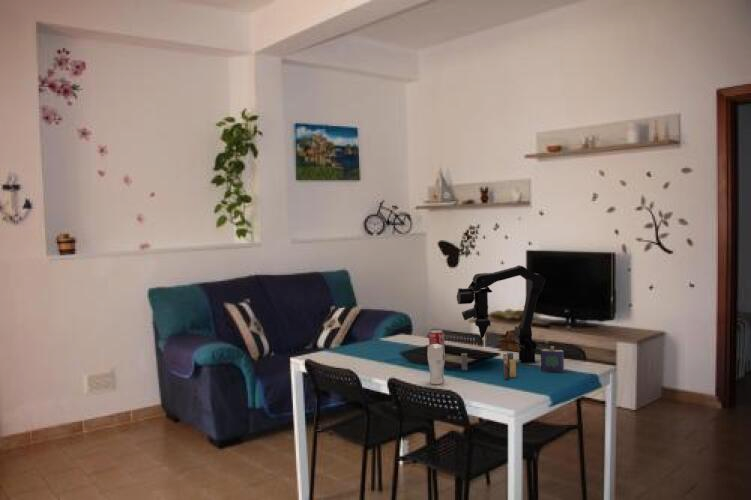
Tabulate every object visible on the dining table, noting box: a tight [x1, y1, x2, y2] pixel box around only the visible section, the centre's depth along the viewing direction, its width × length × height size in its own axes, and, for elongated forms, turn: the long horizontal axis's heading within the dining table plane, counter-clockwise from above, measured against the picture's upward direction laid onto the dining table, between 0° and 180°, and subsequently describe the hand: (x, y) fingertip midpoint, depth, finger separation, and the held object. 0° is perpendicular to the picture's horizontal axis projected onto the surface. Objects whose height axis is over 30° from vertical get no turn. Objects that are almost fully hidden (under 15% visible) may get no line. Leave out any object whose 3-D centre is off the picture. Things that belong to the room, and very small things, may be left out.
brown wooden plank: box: [502, 353, 510, 380], centre depth 260 cm, size 16×2×6 cm, turn 170°
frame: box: [460, 352, 517, 378], centre depth 262 cm, size 22×13×7 cm, turn 84°
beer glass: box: [426, 344, 446, 386], centre depth 252 cm, size 7×7×15 cm
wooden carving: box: [497, 329, 521, 352], centre depth 296 cm, size 16×5×10 cm, turn 76°
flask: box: [540, 345, 565, 373], centre depth 261 cm, size 9×3×11 cm, turn 74°
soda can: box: [428, 329, 446, 352], centre depth 292 cm, size 7×7×12 cm
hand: (482, 337), depth 274 cm, fingers closed
